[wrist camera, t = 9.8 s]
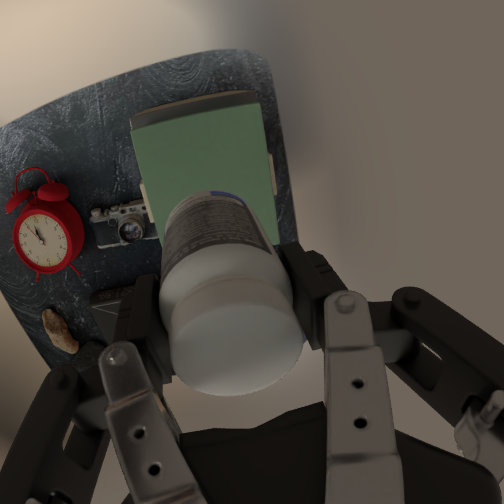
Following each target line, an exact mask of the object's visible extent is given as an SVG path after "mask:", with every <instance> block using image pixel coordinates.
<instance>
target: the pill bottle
mask: <svg viewBox="0 0 504 504" xmlns="http://www.w3.org/2000/svg"><path fill="white" fill-rule="evenodd" d="M292 305H293V290H292V285H291V281H290V278H289V274H288V273H287V271H286V269H285V267H284V266H283V264H282V263H281V261H280V259H279V257H278V255H277V254H276V252H275V250H274V248H273V246H272V244H271V243H270V241H269V239H268V237H267V235H266V233H265V231H264V229H263V227H262V226H261V224H260V222H259V220H258V218H257V216H256V214H255V213H254V212H253V210H252V209H251V207H250V206H249V205H248V204H247V203H246V202H245V201H244V200H243V199H241V198H240V197H239V196H237V195H235V194H233V193H230V192H227V191H224V190H215V189H212V190H203V191H199V192H196V193H193V194H191V195H190V196H188V197H186V198H185V199H183V200H182V201H181V202H180V203H179V204H178V205H177V206H176V207H175V208H174V209H173V211H172V212H171V213H170V215H169V217H168V220H167V222H166V226H165V231H164V241H163V250H162V262H161V278H160V290H159V310H160V316H161V319H162V322H163V324H164V326H165V328H166V330H167V332H168V338H169V349H170V360H171V365H172V367H173V370H174V371H175V373H176V375H177V376H178V377H179V378H180V379H181V380H182V381H183V382H184V383H185V384H186V385H188V386H190V387H191V388H192V389H195V390H197V391H200V392H202V393H206V394H211V395H217V396H238V395H244V394H249V393H251V392H255V391H258V390H261V389H263V388H266V387H268V386H270V385H272V384H274V383H275V382H277V381H278V380H280V379H281V378H282V377H284V376H285V375H286V374H287V373H288V372H289V371H290V370H291V369H292V368H293V366H294V365H295V364H296V362H297V361H298V359H299V357H300V355H301V352H302V348H303V333H302V329H301V326H300V324H299V322H298V319H297V317H296V315H295V313H294V310H293V308H292Z"/></svg>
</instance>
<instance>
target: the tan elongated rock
mask: <svg viewBox="0 0 504 504" xmlns="http://www.w3.org/2000/svg"><path fill="white" fill-rule="evenodd" d="M42 319H43V325H44V327H45V329H46V332H47V334H48V335H49V337H50V339H51V340H52V342H53V344H54V345H55V346H57V347H59V348H61V349H62V350H63V351H66V352H69V353H71V354H73V353H74V354H75V353H76V352H77V351H78V349H79V343H78V341H76V340H74V339H73V338H72V336H71V334H70V332H69V331H68V326H67V324H66V323H65V321H64V320H63V318H62V317H60V316H59V315H58V314H57V313H55V312H53V311H52V310H51V309H45V310H44V311H43V313H42Z"/></svg>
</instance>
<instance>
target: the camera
mask: <svg viewBox="0 0 504 504" xmlns="http://www.w3.org/2000/svg"><path fill="white" fill-rule="evenodd" d="M91 214H92V216H91V217H90V222H89V225H90V226H91V227H92V229H93V233H94V236H95V239H96V242H97V245H98V248H100V249H104V248H110V247H115V246H124V245H127V244H133V243H135V242H137V241H138V240H140V239H156V238H159V236H158V232H157V229H156V226H155V223H154V222H153V223H151V222H150V219H149V216H148V212H147V209H146V205H145V202H144V199H140V200H135V201H130V203H129V204H122V203H121V204H120V206H119V207H118V206H117V205H115V206H113V207H111V210H109V209H106V210H104V213H101V209H100V208H96V209H94V210H92V211H91Z"/></svg>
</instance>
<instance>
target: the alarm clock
mask: <svg viewBox="0 0 504 504" xmlns="http://www.w3.org/2000/svg"><path fill="white" fill-rule="evenodd" d="M32 169H38V170H41V171H42V172H43V173H44V174H45V176H46V178H47V180H48V182H49V183H46V184H43V185H42V186H40V188H39V189H38V196H36V194H35V193H36V191H33V192H32V193H33V194H34V196H35V197H34V198H32V199H31V200H30V201H29V200H28V198H27V197H29V196H30V195H31V194H32V193H31V191H30V190H28V189H23V190H21V191H19V192H18V191H17V178H18V177H19V175H20V174H21V173H23V172H25V171H28V170H32ZM15 188H16V193H15V194H14V192H13V191H12V192H11V193H12V195H13V197H12V198H11V199H10V200H9V201H8V203H7V204H6V211H7V213H10V212H11V211H12V210H13V209H14V208H15V207H17V206H18V205H19V204H20V203H21V202H23V201H24V200H25V199H27V201H28V203H27V204H26V205H25V206H24V208H23V209H22V211H21V214H20V216H19V217H18V218H17V220H16V222H15V225H14V229H13V243H14V247H15V249H16V252H17V254H18V255H19V257H20V258H21V260H22V261H23V262H24V263H25V264H26V265H27V266H28V267H30V268H31V269H33V270H35V271H37V278H36V281H39V279H38V276H39V272H41V273H48V274H49V273H55V272H58V271H60V270H62V269H63V268H65V267H66V266H67V265H68V264H69V265H70V266H71V267H72V268H73V269H74V270H75V271H76V272H77V273H78V275H80V274H81V273H80V272H78V271H77V270H76V269H75V267H74V266H73V265H72V264H71V263H70V262H71V261H72V260H74V259H75V258H76V257H77V256H78V254H79V253H80V251H81V249H82V247H83V244H84V238H85V231H84V225H83V222H82V219H81V217H80V215H79V213H78V212H77V210H76V209H75V208H74V206H73V205H72V204H70V203H69V202H68V201H67V200H65V199H66V198H67V197H68V196H69V190H68V188H67V187H66V186H65V185H64V184H61V183H56V182H55V180H53V182H50V180H49V177H48V175H47V174H46V172H45V171H44V170H43V169H41V168H38V167H32V168H27V169H25V170H23V171H21V172H20V173H19V174H18V175H17V176H16V179H15ZM17 192H18V193H17Z"/></svg>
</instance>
